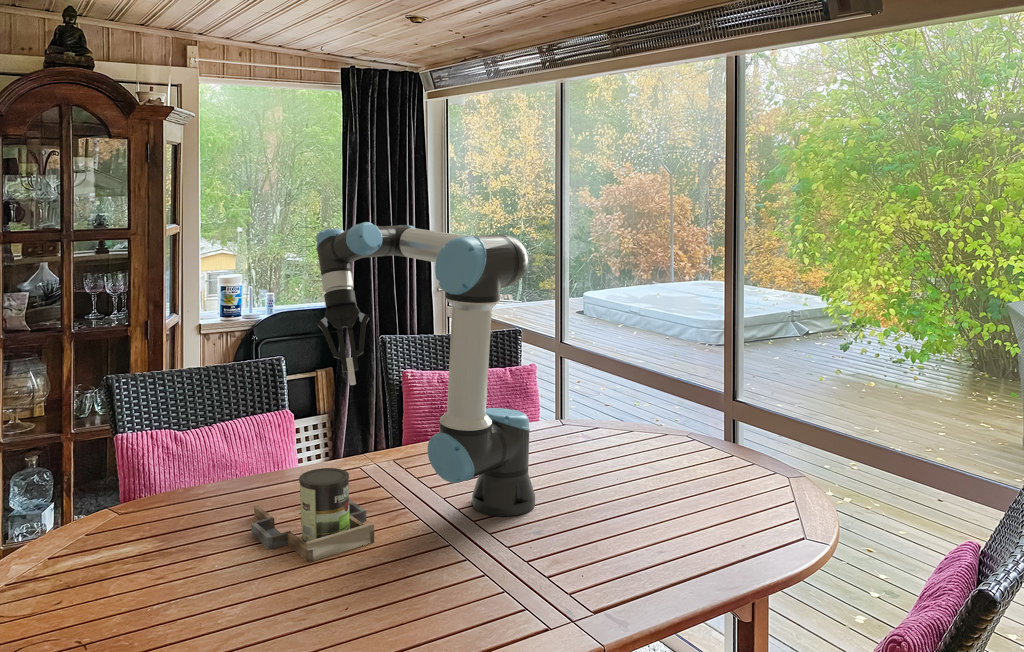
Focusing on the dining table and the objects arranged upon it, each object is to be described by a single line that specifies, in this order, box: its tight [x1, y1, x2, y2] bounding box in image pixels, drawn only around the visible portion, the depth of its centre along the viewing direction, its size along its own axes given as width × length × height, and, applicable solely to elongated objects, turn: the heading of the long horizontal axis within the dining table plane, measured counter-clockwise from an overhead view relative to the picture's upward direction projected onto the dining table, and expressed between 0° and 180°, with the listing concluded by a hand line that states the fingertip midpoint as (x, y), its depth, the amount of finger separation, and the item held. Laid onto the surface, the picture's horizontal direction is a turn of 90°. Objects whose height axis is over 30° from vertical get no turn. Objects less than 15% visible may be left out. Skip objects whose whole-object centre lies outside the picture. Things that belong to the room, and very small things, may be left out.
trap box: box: [250, 499, 375, 563], centre depth 171 cm, size 28×23×4 cm
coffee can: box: [298, 467, 350, 543], centre depth 166 cm, size 10×10×14 cm
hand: (353, 384), depth 191 cm, fingers closed
